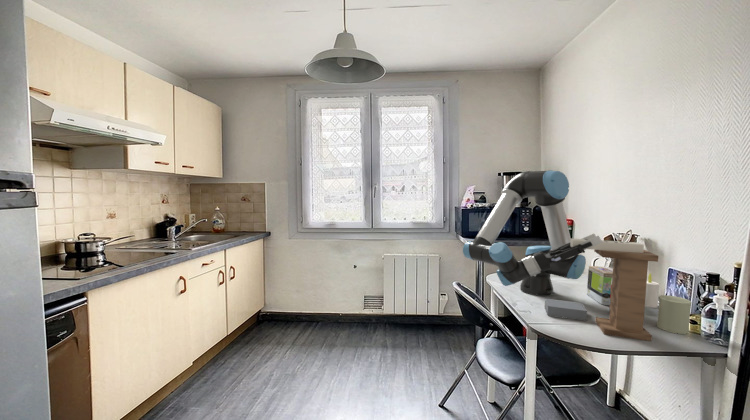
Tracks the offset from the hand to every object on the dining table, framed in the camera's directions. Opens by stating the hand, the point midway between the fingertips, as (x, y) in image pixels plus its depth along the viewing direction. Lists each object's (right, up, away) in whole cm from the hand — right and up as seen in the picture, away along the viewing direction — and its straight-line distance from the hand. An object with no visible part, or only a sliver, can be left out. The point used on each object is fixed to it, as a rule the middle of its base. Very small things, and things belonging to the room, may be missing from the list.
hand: (598, 237), depth 126 cm
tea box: (+25, -32, +34) cm, 53 cm away
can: (+30, -35, +2) cm, 46 cm away
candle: (+41, -33, +28) cm, 60 cm away
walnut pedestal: (+7, -34, 0) cm, 35 cm away
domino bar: (+2, -4, -1) cm, 5 cm away
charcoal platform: (-4, -33, +15) cm, 37 cm away
